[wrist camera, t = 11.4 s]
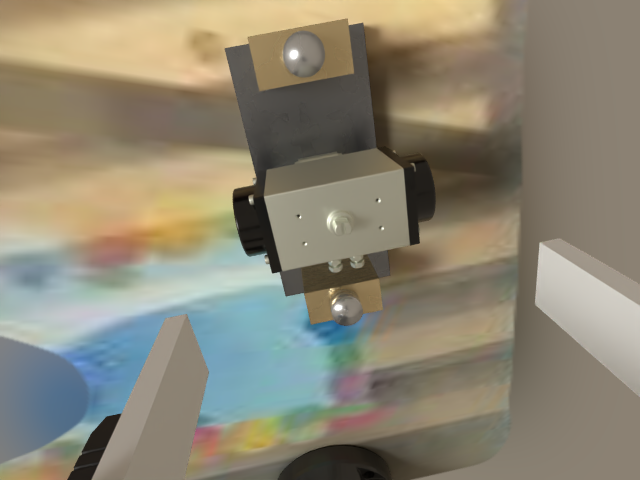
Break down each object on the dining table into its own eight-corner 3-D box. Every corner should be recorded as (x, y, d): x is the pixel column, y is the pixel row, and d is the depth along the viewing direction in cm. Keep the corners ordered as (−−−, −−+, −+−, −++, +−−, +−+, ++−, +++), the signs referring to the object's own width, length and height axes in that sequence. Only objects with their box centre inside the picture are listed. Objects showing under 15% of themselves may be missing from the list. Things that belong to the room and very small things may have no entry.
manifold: (385, 267, 37) (412, 315, 30) (285, 288, 37) (287, 341, 29) (359, 25, 28) (387, 8, 21) (227, 49, 28) (209, 41, 21)
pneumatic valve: (242, 160, 30) (222, 210, 19) (387, 132, 30) (449, 165, 19) (259, 224, 32) (250, 301, 21) (393, 197, 33) (452, 260, 22)
